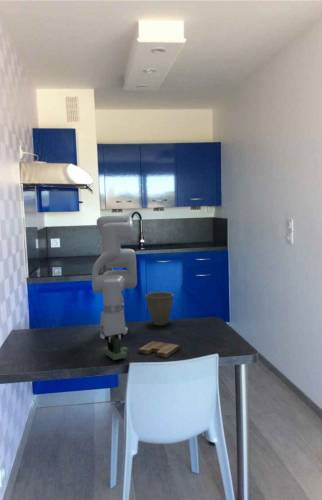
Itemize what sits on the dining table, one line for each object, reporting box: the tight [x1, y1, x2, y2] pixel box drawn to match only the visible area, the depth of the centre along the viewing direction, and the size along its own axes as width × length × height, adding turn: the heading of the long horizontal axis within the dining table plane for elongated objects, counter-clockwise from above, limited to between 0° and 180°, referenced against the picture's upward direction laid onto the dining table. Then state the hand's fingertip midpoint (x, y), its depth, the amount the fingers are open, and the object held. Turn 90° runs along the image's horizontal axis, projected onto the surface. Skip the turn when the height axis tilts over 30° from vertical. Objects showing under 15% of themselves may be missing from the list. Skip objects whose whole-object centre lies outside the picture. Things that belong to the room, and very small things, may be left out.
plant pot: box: [145, 291, 174, 326], centre depth 242 cm, size 15×15×16 cm
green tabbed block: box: [101, 335, 129, 361], centre depth 193 cm, size 12×9×8 cm
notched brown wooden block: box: [138, 340, 180, 358], centre depth 200 cm, size 14×12×2 cm
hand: (114, 349), depth 193 cm, fingers closed on green tabbed block, 2 cm apart
